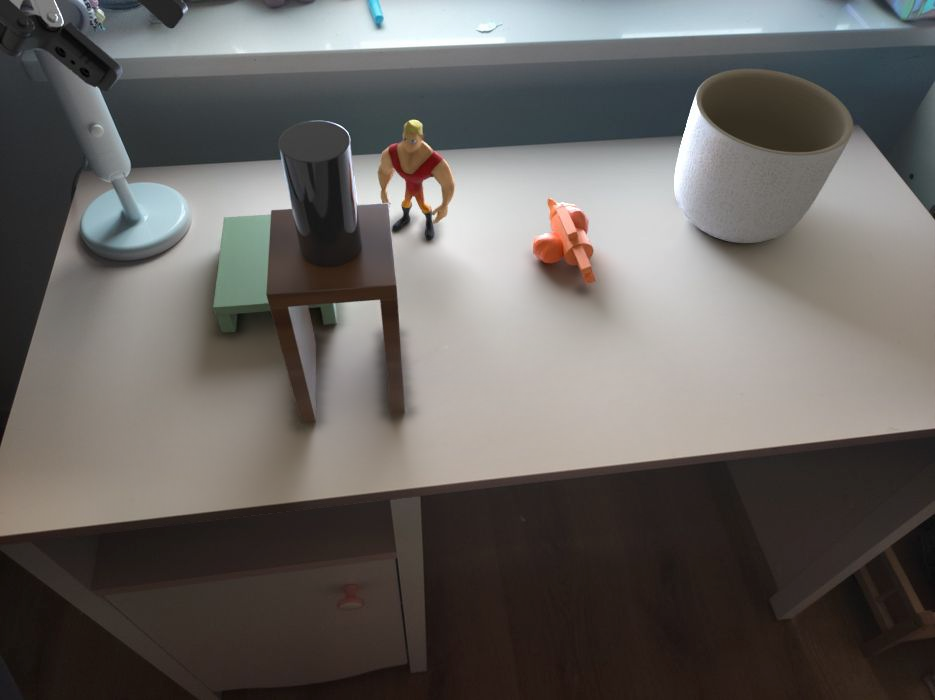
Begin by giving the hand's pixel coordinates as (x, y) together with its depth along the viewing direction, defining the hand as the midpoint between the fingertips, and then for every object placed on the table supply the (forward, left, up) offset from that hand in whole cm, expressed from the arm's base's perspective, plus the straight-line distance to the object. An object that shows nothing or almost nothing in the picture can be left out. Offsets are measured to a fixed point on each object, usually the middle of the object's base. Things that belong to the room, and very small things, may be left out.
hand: (150, 48), depth 47 cm
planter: (+51, -33, -33) cm, 69 cm away
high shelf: (+4, -10, -33) cm, 35 cm away
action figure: (+26, -2, -33) cm, 42 cm away
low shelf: (+10, +5, -33) cm, 35 cm away
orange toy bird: (+32, -19, -33) cm, 50 cm away
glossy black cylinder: (+4, -10, -15) cm, 19 cm away
